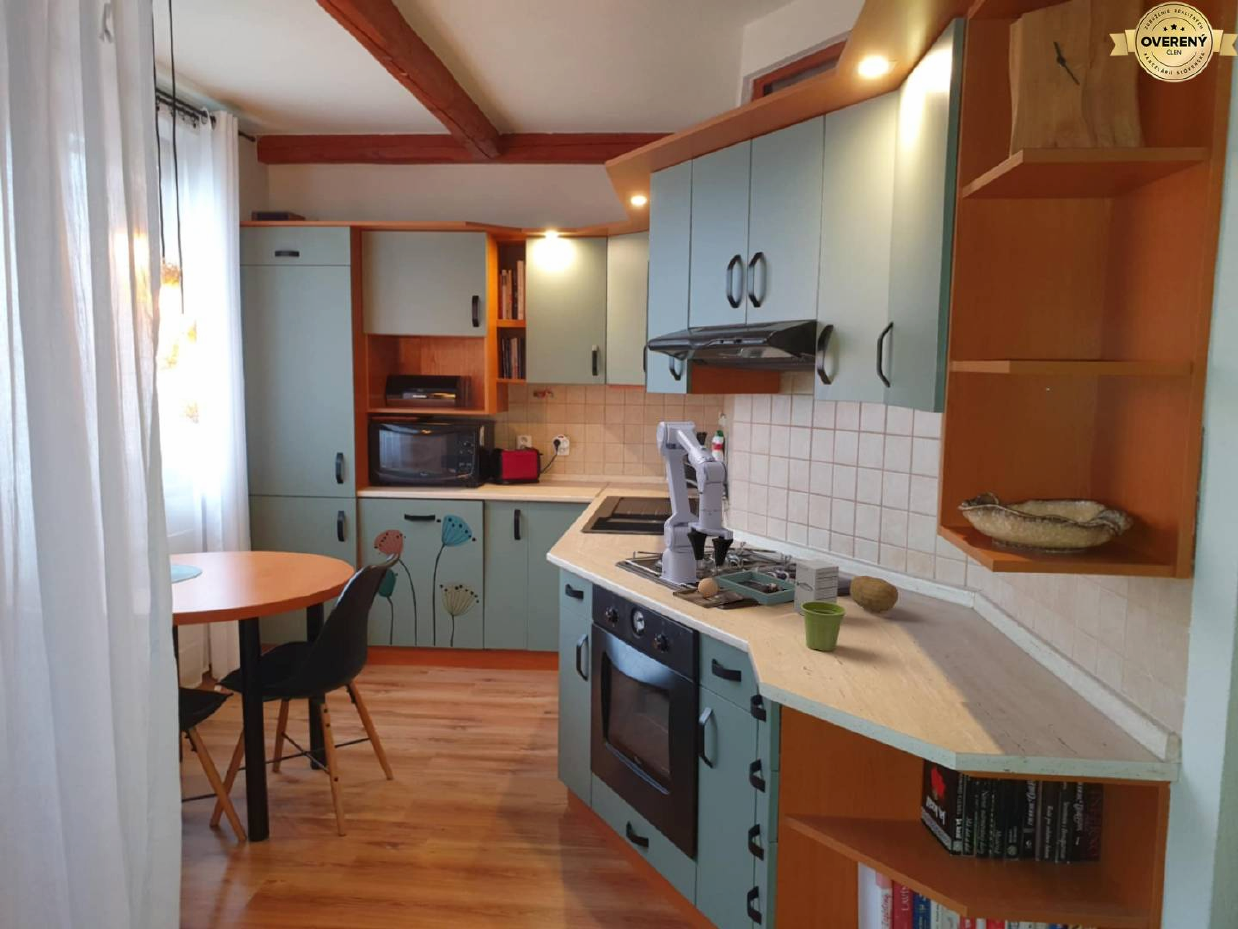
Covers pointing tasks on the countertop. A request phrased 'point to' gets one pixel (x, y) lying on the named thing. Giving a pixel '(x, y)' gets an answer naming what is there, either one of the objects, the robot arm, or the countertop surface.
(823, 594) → the supplement box
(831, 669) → the countertop surface
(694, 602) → the wooden trivet
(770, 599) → the tray
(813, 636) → the plant pot
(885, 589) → the potato
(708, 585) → the ball
